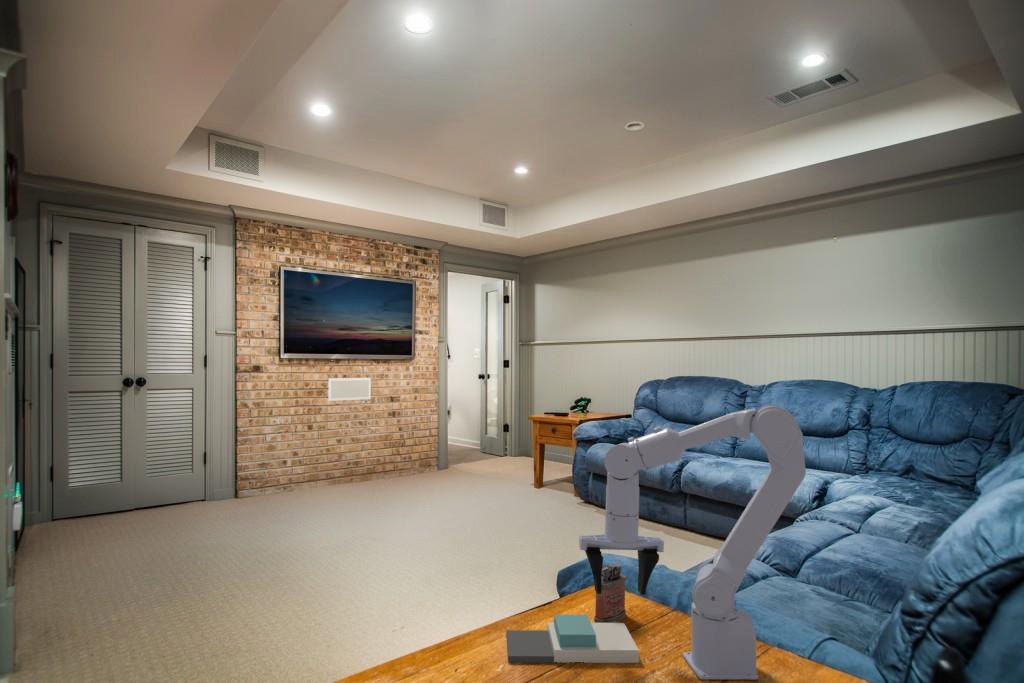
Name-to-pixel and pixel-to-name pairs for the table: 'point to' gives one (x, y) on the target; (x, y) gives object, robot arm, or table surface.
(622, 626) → the plinth
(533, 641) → the mat
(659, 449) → the robot arm
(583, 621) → the tile
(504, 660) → the table surface
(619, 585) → the lighter
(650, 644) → the table surface
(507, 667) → the table surface
